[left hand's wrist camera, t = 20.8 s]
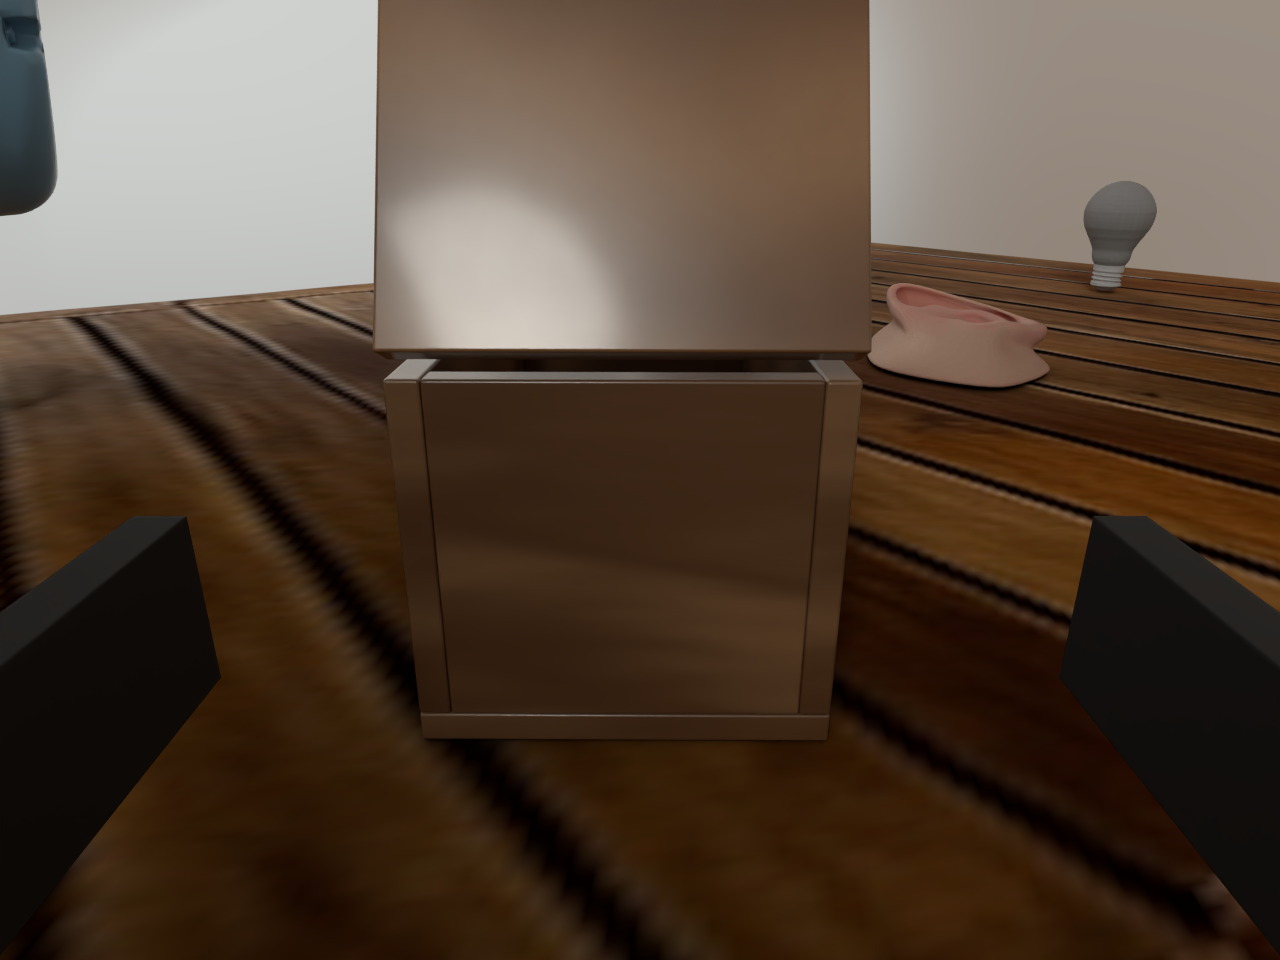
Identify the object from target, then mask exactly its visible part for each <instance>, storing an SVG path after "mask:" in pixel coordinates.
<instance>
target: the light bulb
mask: <svg viewBox="0 0 1280 960" xmlns="http://www.w3.org/2000/svg"><path fill="white" fill-rule="evenodd" d="M1156 213H1157V208H1156V203H1155V200H1154V198H1153V196H1152V194H1151V193H1150V192H1149V190H1148V189H1147V188H1145V187H1144V186H1142V185H1140V184H1138V183H1135V182H1131V181H1120V182H1116V183H1112V184H1109V185H1107V186H1105V187H1103V188H1102V189H1101V190H1099V191H1098V192H1097V193H1096V194H1095V195H1094V196H1093V197H1092V198H1091V200H1090V201H1089V202H1088V204H1087V206H1086V208H1085V212H1084V226H1085V229H1086V232H1087V235H1088V237H1089V239H1090V242H1091V245H1092V260H1093V262H1094V267H1093V270H1095V271H1094V272H1092V273H1093V274H1094V276H1092V278H1093V280H1091V282H1090V284H1091V285H1093V286H1094V287H1096V288H1097V289H1099V290H1112V289H1114V288H1117V287H1119V286H1121V284H1120V283H1119V282H1120V281H1122V280H1120V277H1123V276H1121V273H1123V271H1124V267H1125V265H1126V264H1127V262H1128V261H1129V260H1130V257H1131V254H1132V251H1133V250H1134V248H1135V247H1136V245H1137V244H1138V243H1139V242H1140V240H1141V239H1142V238H1143V237H1144V236H1145V234H1146V233H1147V232H1148V231H1149V230H1150V228H1151V227H1152V225H1153V223H1154V220H1155V217H1156Z"/></svg>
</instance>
